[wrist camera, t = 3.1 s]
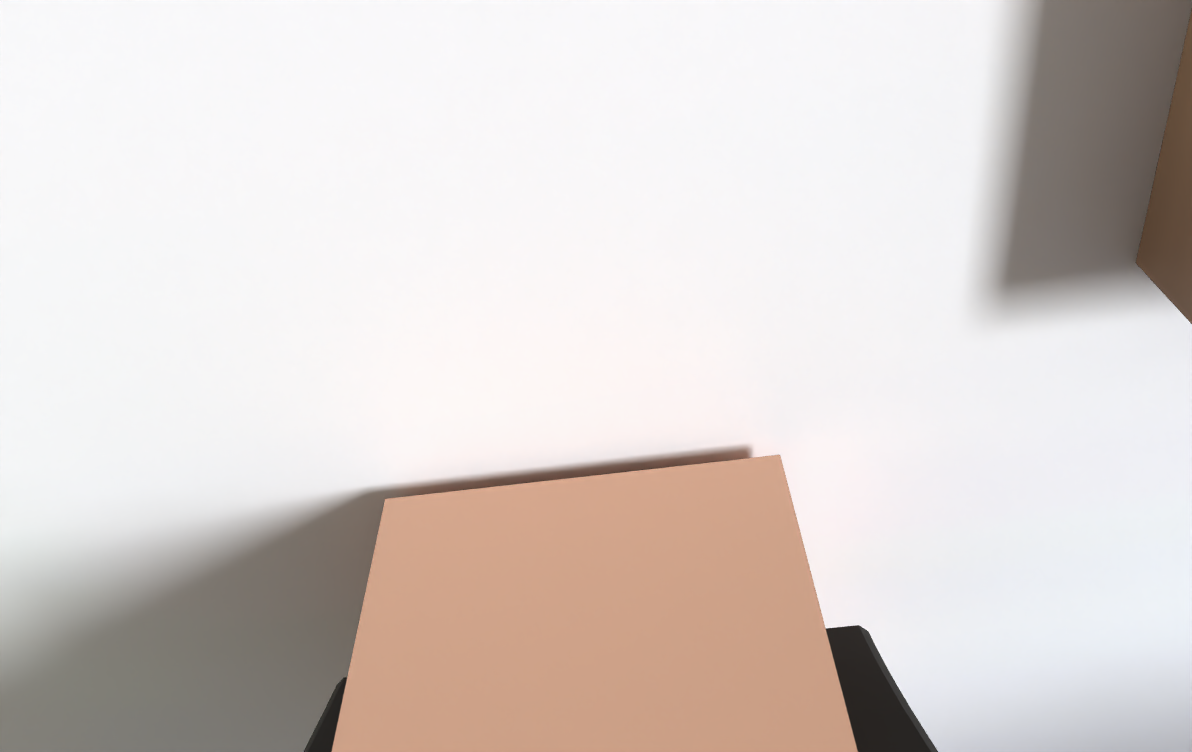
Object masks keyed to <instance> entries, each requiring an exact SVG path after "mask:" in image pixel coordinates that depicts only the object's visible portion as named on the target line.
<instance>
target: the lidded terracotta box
mask: <svg viewBox="0 0 1192 752" xmlns="http://www.w3.org/2000/svg"><path fill="white" fill-rule="evenodd" d="M332 752H858V751H857V747H856V743H855V739H854V735H853V732H852V728H851V724H850V720H849V716H848V713H847V709H846V705H845V701H844V697H843V693H842V690H841V686H840V682H839V678H838V674H837V671H836V667H835V663H834V659H833V655H832V651H831V648H830V644H829V640H828V636H827V632H826V629H825V625H824V621H823V617H822V613H821V609H820V606H819V602H818V598H817V594H816V590H815V587H814V583H813V579H812V575H811V571H810V567H809V564H808V560H807V556H806V552H805V548H804V545H803V541H802V537H801V533H800V529H799V525H798V522H797V518H796V514H795V510H794V506H793V503H792V499H791V495H790V491H789V487H788V484H787V480H786V476H785V472H784V468H783V464H782V461H781V457H780V455H774V456H765V457H756V458H747V459H738V460H729V461H720V462H711V463H702V464H693V465H684V466H675V467H666V468H657V469H648V470H639V471H630V472H621V473H612V474H603V475H594V476H585V477H576V478H567V479H558V480H550V481H541V482H532V483H523V484H514V485H505V486H496V487H487V488H478V489H469V490H460V491H451V492H442V493H433V494H424V495H415V496H406V497H397V498H388V499H385V502H384V507H383V512H382V516H381V521H380V526H379V530H378V535H377V540H376V545H375V549H374V554H373V559H372V563H371V568H370V573H369V578H368V582H367V587H366V592H365V596H364V601H363V606H362V611H361V615H360V620H359V625H358V629H357V634H356V639H355V644H354V648H353V653H352V658H351V662H350V667H349V672H348V677H347V681H346V686H345V691H344V695H343V700H342V705H341V710H340V714H339V719H338V724H337V728H336V733H335V738H334V743H333V747H332Z"/></svg>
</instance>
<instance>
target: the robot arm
mask: <svg viewBox="0 0 1192 752" xmlns="http://www.w3.org/2000/svg"><path fill="white" fill-rule="evenodd" d="M826 632H827V636H828V640H829V644H830V648H831V651H832V655H833V659H834V663H835V667H836V671H837V674H838V678H839V682H840V686H841V690H842V693H843V697H844V701H845V705H846V709H847V713H848V716H849V720H850V724H851V728H852V732H853V735H854V739H855V743H856V747H857V751H858V752H938V751H937V749H936V748H935V746H934V745H933V743H932V742H931V740H930V739H929V737H928V735H927V734H926V732H925V731H924V729H923V727H922V726H921V724H920V723H919V721H918V719H917V718H916V716H915V715H914V713H913V711H912V710H911V708H910V707H909V705H908V703H907V702H906V700H905V698H904V697H903V695H902V693H901V691H900V690H899V688H898V686H897V685H896V683H895V681H894V679H893V678H892V676H891V674H890V672H889V671H888V669H887V667H886V665H885V663H884V661H883V659H882V658H881V656H880V654H879V652H878V650H877V648H876V646H875V644H874V642H873V640H872V638H871V636H870V634H869V632H868V631H867V630H865V629H864V628H862V627H861V626H859V625H857V626H847V627H837V628H828V629H826ZM346 681H347V677H345V678H343V679H342V680H341V681H340V682H339V683H338V684H337V686H336V688H335V690H334V692H333V694H332V696H331V698H330V700H329V702H328V704H327V706H326V708H325V710H324V712H323V714H322V716H321V718H320V720H319V722H318V724H317V726H316V728H315V730H314V732H313V734H312V736H311V738H310V740H309V742H308V744H307V746H306V748H305V750H304V752H332V747H333V743H334V738H335V733H336V728H337V724H338V719H339V714H340V710H341V705H342V700H343V695H344V691H345V686H346Z"/></svg>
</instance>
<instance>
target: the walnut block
mask: <svg viewBox="0 0 1192 752" xmlns="http://www.w3.org/2000/svg"><path fill="white" fill-rule="evenodd" d="M1136 264H1137V265H1138V266H1139V267H1140V268H1141V269H1142V270H1143V271H1144V273H1145V274H1146V275H1147V276H1148V277H1149V278H1150V279H1151V280H1152V281H1153V282H1154V283H1155V285H1156V286H1157V287H1158V288H1159V289H1160V290H1161V291H1162V292H1163V293H1164V294H1165V295H1166V296H1167V298H1168V299H1169V300H1170V301H1171V302H1172V303H1173V304H1174V305H1175V306H1176V307H1177V308H1178V310H1179V311H1180V312H1181V313H1182V314H1183V315H1184V316H1185V317H1186V318H1187V319H1188V320H1189V321H1190V323H1191V324H1192V10H1191V15H1190V19H1189V24H1188V28H1187V33H1186V37H1185V42H1184V46H1183V51H1182V56H1181V60H1180V65H1179V69H1178V74H1177V78H1176V83H1175V87H1174V92H1173V96H1172V101H1171V105H1170V110H1169V114H1168V119H1167V123H1166V128H1165V133H1164V137H1163V142H1162V146H1161V151H1160V155H1159V160H1158V164H1157V169H1156V173H1155V178H1154V182H1153V187H1152V191H1151V196H1150V201H1149V205H1148V210H1147V214H1146V219H1145V223H1144V228H1143V232H1142V237H1141V241H1140V246H1139V250H1138V255H1137V259H1136Z"/></svg>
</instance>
